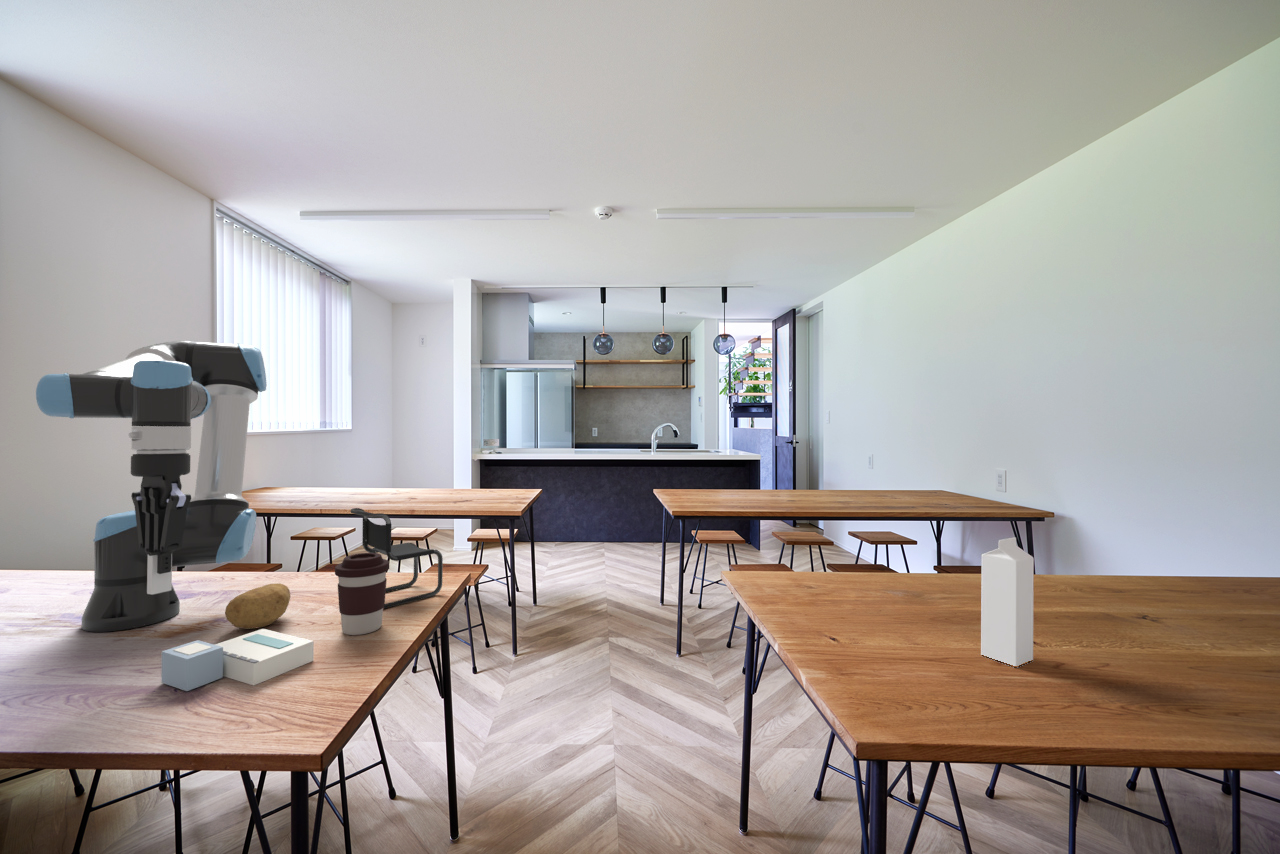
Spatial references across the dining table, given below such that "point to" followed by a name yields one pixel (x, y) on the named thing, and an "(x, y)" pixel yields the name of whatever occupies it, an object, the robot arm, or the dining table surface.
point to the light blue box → (192, 665)
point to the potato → (258, 606)
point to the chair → (395, 552)
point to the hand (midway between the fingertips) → (159, 591)
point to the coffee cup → (361, 592)
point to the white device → (264, 655)
